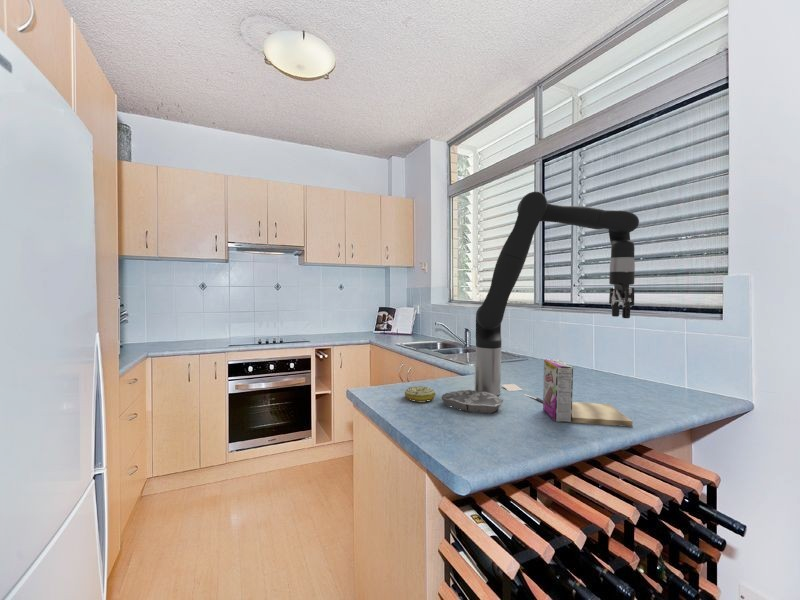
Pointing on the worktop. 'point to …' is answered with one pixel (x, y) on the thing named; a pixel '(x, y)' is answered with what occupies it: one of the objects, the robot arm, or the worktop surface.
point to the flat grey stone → (472, 401)
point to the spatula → (514, 387)
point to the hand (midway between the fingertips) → (620, 317)
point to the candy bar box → (558, 390)
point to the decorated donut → (420, 393)
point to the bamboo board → (598, 414)
